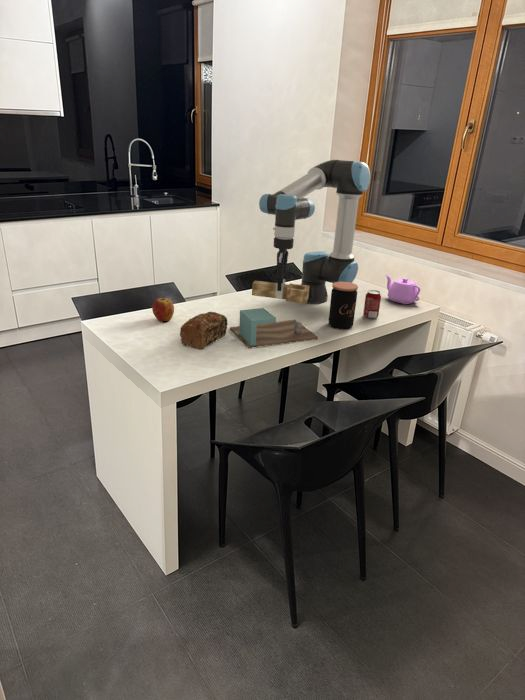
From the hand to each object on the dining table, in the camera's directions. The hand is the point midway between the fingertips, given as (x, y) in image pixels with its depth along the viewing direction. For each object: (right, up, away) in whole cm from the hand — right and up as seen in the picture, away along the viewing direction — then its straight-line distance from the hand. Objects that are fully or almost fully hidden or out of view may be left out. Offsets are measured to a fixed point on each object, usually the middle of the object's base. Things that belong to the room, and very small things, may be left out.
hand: (279, 296), depth 197 cm
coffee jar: (+27, -11, +16) cm, 33 cm away
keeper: (-9, -18, -3) cm, 20 cm away
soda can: (+42, -7, +27) cm, 51 cm away
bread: (-30, -18, -4) cm, 35 cm away
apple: (-49, -9, +12) cm, 51 cm away
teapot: (+62, +3, +52) cm, 81 cm away
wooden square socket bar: (0, 0, 0) cm, 0 cm away
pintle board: (-3, -15, +4) cm, 16 cm away
